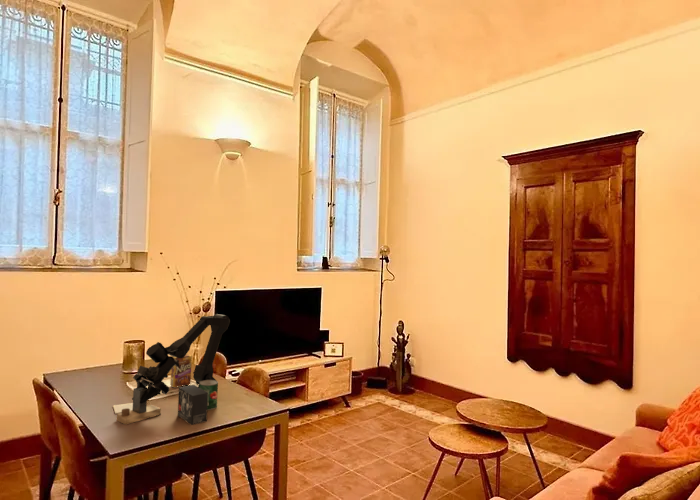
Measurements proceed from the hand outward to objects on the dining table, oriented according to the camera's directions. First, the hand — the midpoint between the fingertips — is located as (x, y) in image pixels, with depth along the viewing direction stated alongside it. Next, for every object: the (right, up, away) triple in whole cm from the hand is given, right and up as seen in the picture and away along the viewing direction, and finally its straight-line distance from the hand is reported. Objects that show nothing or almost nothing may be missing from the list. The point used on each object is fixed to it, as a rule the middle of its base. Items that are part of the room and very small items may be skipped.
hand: (136, 401), depth 185 cm
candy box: (+1, -7, +44) cm, 45 cm away
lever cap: (+1, -4, +1) cm, 4 cm away
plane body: (0, -7, +1) cm, 7 cm away
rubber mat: (-9, -6, +10) cm, 15 cm away
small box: (+21, -8, +3) cm, 23 cm away
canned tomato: (+24, -8, +16) cm, 30 cm away
